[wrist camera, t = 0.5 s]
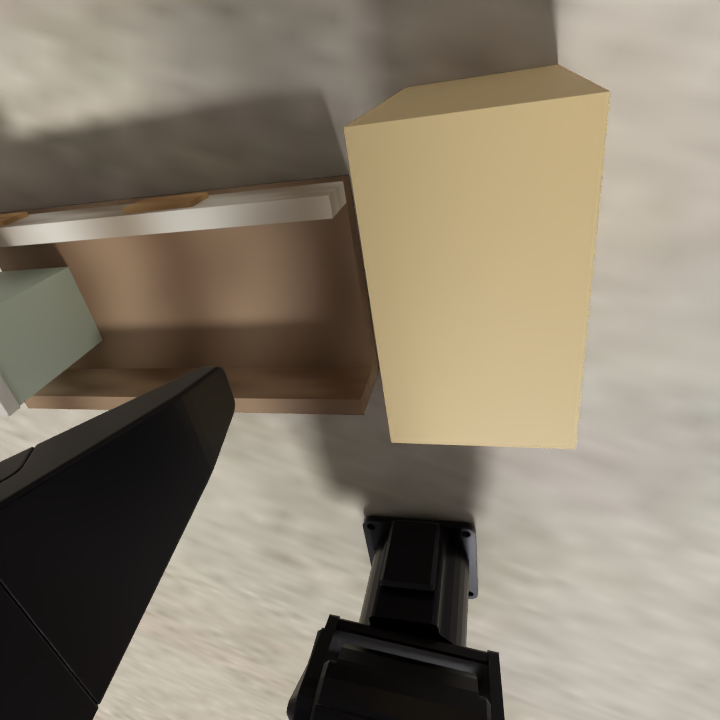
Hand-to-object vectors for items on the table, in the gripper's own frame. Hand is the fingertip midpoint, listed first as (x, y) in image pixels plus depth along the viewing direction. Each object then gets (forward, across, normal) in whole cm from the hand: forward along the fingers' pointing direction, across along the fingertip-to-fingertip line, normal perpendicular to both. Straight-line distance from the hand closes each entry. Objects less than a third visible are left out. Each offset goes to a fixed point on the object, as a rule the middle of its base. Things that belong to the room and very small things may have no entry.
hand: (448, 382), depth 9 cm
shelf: (+12, +14, +3) cm, 19 cm away
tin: (+11, +21, +3) cm, 24 cm away
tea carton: (+12, 0, 0) cm, 12 cm away
